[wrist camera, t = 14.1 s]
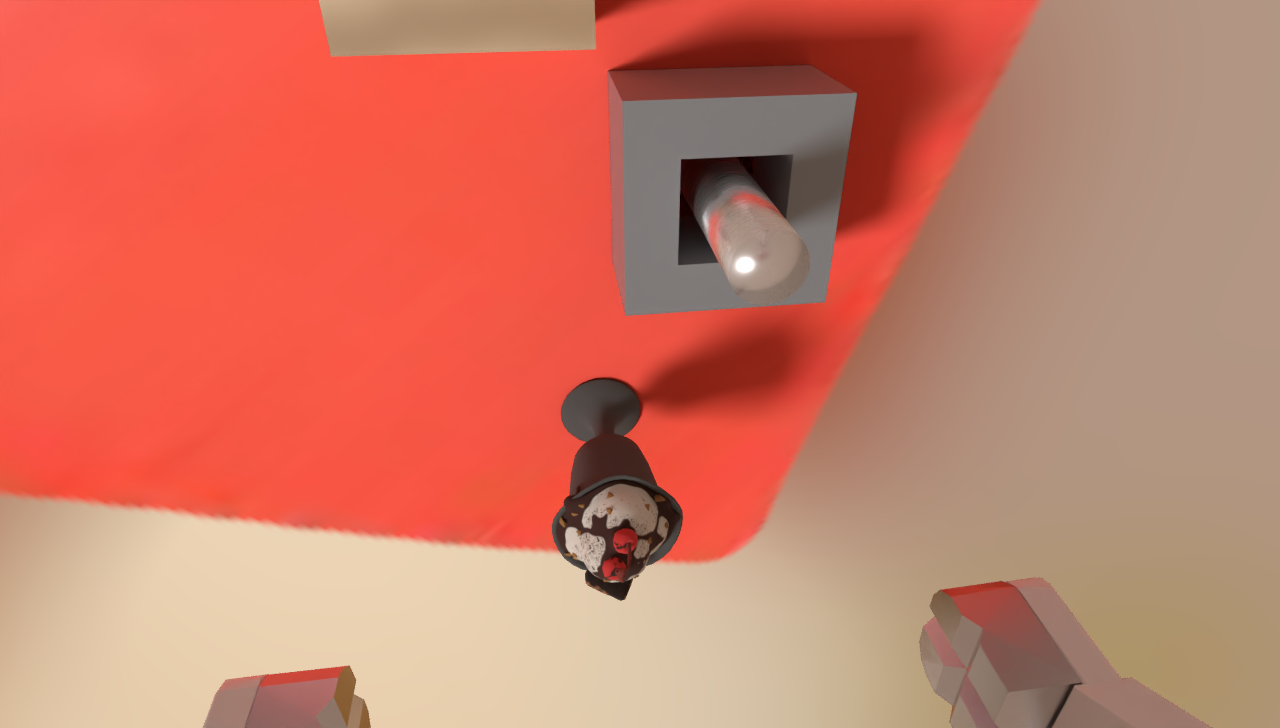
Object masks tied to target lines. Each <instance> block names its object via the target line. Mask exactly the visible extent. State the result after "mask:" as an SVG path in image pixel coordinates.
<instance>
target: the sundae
mask: <svg viewBox="0 0 1280 728" xmlns="http://www.w3.org/2000/svg"><path fill="white" fill-rule="evenodd" d="M639 416H640V402H639V400H638V397H637V396H636V394H635V392H634V391H633V390H632V389H631V388H629V387H628V386H627V385H625V384H623V383H621V382H618V381H615V380H611V379H598V380H592V381H589V382H586V383H583V384H581V385H579V386H578V387H576V388H575V389H574V390H572V391H571V392H570V393H569V394H568V395H567V397H566V399H565V401H564V403H563V405H562V409H561V417H562V422H563V424H564V426H565V428H566V429H567V431H568V432H569V433H571V434H572V435H573V436H575V437H576V438H578V439H579V440H582V441H585V442H586V443H585V444H584V445H583V446H582V447H581V448H580V449H579V450H578V452H577V454H576V455H575V459H574V463H573V468H572V472H571V483H570V495H569V496H568V497H567V498H566V499H565V500H564V506H563V507H562V508H561V509H560V510H559V512H558V513H557V515H556V516H555V518H554V520H553V524H552V534H553V538H554V542H555V544H556V546H557V548H558V550H559V551H560V553H561V554H562V556H563V557H564V558H565V559H566V560H567V561H569V562H570V563H571V564H573V565H574V566H577V567H579V568H580V569H583V570H587V571H586V573H585V580H586V584H587V585H588V586H590V587H592V588H594V589H596V590H598V591H600V592H602V593H604V594H607V595H610V596H612V597H614V598H616V599H618V600H625V598H626V596H627V593H628V591H629V588H630V586H631V583H632V580H633V578H636V577H638V576H639V574H640V573H641V572H642V571H643V570H644V568H645V567H646V566H648V565H651V564H653V563H655V562H656V561H658V560H660V559H661V558H662V557H664V556H665V555H666V554H667V553H668V552H669V551H670V550H671V548H672V547H673V545H674V544H675V542H676V540H677V538H678V536H679V534H680V531H681V527H682V520H683V514H682V509H681V507H680V505H679V504H678V503H677V501H676V500H675V499H674V498H673V497H672V496H671V495H670V494H668V493H667V492H666V491H664V490H663V489H661V488H660V487H659V486H657V483H656V481H655V479H654V476H653V474H652V471H651V469H650V467H649V464H648V462H647V460H646V459H645V457H644V455H643V454H642V452H641V450H640V449H639V447H638V446H637V444H636V443H634V442H633V441H632V440H630V439H629V438H627V437H624V435H626V434H627V433H628V432H629V431H631V430H632V429H633V427H634V426H635V424H636V423H637V421H638V419H639Z"/></svg>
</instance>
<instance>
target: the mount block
mask: <svg viewBox="0 0 1280 728" xmlns="http://www.w3.org/2000/svg"><path fill="white" fill-rule="evenodd" d="M319 3H320V7H321V12H322V17H323V21H324V26H325V31H326V35H327V40H328V44H329V49H330V54H331V56H366V55H403V54H440V53H477V52H514V51H551V50H589V49H596V30H595V0H319Z"/></svg>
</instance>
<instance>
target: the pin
mask: <svg viewBox="0 0 1280 728" xmlns="http://www.w3.org/2000/svg"><path fill="white" fill-rule="evenodd" d="M680 189H681V191H682V193H683V195H684V197H685V199H686V201H687V203H688V205H689V207H690V208H691V210H692V212H693V214H694V216H695V218H696V220H697V222H698V224H699V226H700V227H701V229H702V231H703V233H704V235H705V237H706V239H707V241H708V243H709V245H710V246H711V248H712V250H713V252H714V254H715V256H716V258H717V260H718V262H719V264H720V265H721V267H722V269H723V271H724V273H725V275H726V277H727V279H728V281H729V283H730V284H731V286H732V288H733V290H734V291H735V293H736V294H737V295H738V296H739V297H740V298H742V299H743V300H745V301H747V302H749V303H752V304H756V305H769V304H774V303H778V302H780V301H783V300H785V299H786V298H788V297H790V296H791V295H792V294H794V293H795V292H796V291H797V290H798V289H799V288H800V286H801V285H802V284H803V282H804V281H805V279H806V277H807V274H808V271H809V267H810V255H809V251H808V248H807V246H806V244H805V243H804V242H803V240H802V239H801V238H800V237H799V235H798V234H797V233H796V232H795V230H794V229H793V228H792V227H791V225H790V224H789V223H788V221H787V220H786V219H785V218H784V216H783V215H782V214H781V213H780V211H779V210H778V209H777V208H776V206H775V205H774V204H773V203H772V201H771V200H770V199H769V198H768V196H767V195H766V194H765V193H764V191H763V190H762V189H761V188H760V186H759V185H758V184H757V183H756V181H755V180H754V179H753V178H752V176H751V175H750V174H749V173H748V171H747V170H746V169H745V168H744V166H743V165H742V164H741V163H740V161H739V160H738V159H737V158H736V157H721V158H699V159H681V174H680Z"/></svg>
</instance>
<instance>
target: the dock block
mask: <svg viewBox="0 0 1280 728" xmlns="http://www.w3.org/2000/svg"><path fill="white" fill-rule="evenodd" d="M608 93H609V134H610V175H611V216H612V256H613V266H614V271H615V275H616V279H617V283H618V287H619V291H620V295H621V299H622V304H623V308H624V312H625V316H629V315H644V314H659V313H674V312H688V311H703V310H718V309H733V308H747V307H762V306H777V305H792V304H807V303H821V302H825V301H826V294H827V288H828V281H829V274H830V268H831V261H832V255H833V248H834V242H835V235H836V229H837V222H838V215H839V209H840V202H841V196H842V189H843V183H844V176H845V170H846V163H847V156H848V150H849V143H850V137H851V130H852V124H853V117H854V111H855V104H856V98H857V93H856V92H855V91H853V90H851V89H850V88H848V87H846V86H845V85H843V84H842V83H840V82H838V81H837V80H835V79H833V78H832V77H830V76H828V75H827V74H825V73H824V72H822V71H820V70H819V69H817V68H815V67H814V66H812V65H786V66H753V67H719V68H686V69H653V70H620V71H608ZM744 156H754V160H753V172H752V178H753V179H754V180H755V181H756V183H757V184H758V185H759V186H760V188H761V189H762V190H763V191H764V193H765V194H766V195H767V196H768V198H769V199H770V200H771V201H772V203H773V204H774V205H775V206H776V208H777V209H778V210H779V211H780V213H781V214H782V215H783V216H784V218H785V219H786V220H787V221H788V223H789V224H790V225H791V227H792V228H793V229H794V230H795V232H796V233H797V234H798V235H799V237H800V238H801V239H802V240H803V242H804V243H805V244H806V246H807V248H808V251H809V255H810V267H809V271H808V274H807V277H806V279H805V281H804V282H803V284H802V285H801V286H800V288H799V289H798V290H797V291H796V292H795V293H794V294H792V295H791V296H790V297H788V298H786V299H785V300H783V301H780V302H778V303H774V304H769V305H756V304H752V303H749V302H747V301H745V300H743V299H742V298H740V297H739V296H738V295H737V294H736V293H735V291H734V290H733V288H732V286H731V284H730V283H729V281H728V279H727V277H726V275H725V273H724V271H723V269H722V267H721V265H720V264H719V262H718V260H717V258H716V256H715V254H714V252H713V250H712V248H711V246H710V245H709V243H708V241H707V239H706V237H705V235H704V233H703V231H702V229H701V227H700V226H699V224H698V222H697V220H696V218H695V216H679V209H680V174H681V159H699V158H721V157H744Z"/></svg>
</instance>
